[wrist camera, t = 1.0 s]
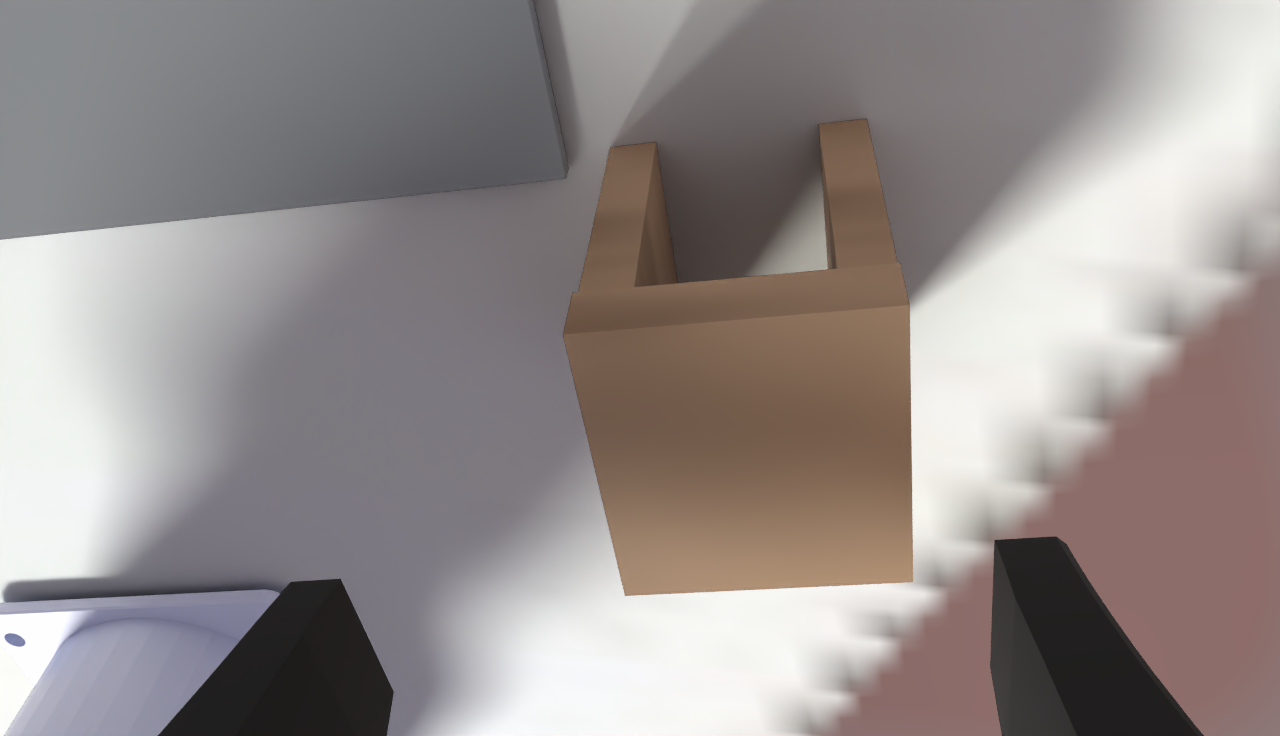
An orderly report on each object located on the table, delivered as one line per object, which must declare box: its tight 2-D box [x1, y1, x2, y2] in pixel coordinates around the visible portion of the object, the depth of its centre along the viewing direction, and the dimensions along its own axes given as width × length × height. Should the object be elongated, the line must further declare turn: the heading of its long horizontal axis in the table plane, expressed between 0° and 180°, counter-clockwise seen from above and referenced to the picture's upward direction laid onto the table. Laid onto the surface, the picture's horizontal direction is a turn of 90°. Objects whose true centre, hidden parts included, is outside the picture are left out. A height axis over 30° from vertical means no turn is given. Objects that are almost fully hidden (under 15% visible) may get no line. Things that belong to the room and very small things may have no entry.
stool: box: [563, 119, 913, 596], centre depth 18 cm, size 5×4×6 cm
